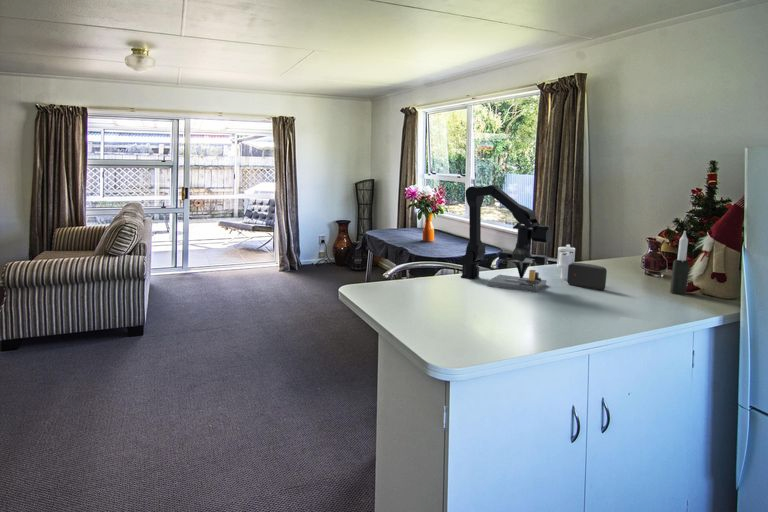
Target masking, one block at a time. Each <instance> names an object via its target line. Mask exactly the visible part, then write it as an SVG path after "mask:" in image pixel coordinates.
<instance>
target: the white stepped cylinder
mask: <svg viewBox="0 0 768 512" xmlns="http://www.w3.org/2000/svg"><path fill="white" fill-rule="evenodd" d="M575 257H576V247H571V244H566V245H565V246H559V247H558V248H557V260H556V267H557V268H560V269H561V270H560V280H563V281H567V275H568V265H569V264H570V263H575Z"/></svg>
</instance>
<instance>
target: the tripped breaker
mask: <svg viewBox="0 0 768 512" xmlns="http://www.w3.org/2000/svg"><path fill="white" fill-rule="evenodd" d="M535 272H536V270H534V269H530V270H529V273H528V278H529V279H527V280H526V282H533V283H537V282H538V280H535Z"/></svg>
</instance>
